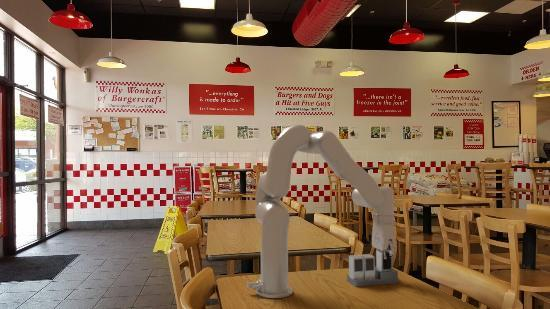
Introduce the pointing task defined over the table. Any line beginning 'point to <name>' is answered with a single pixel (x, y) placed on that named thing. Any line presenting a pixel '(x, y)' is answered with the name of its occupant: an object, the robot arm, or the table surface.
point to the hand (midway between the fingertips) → (383, 266)
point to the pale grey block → (380, 260)
